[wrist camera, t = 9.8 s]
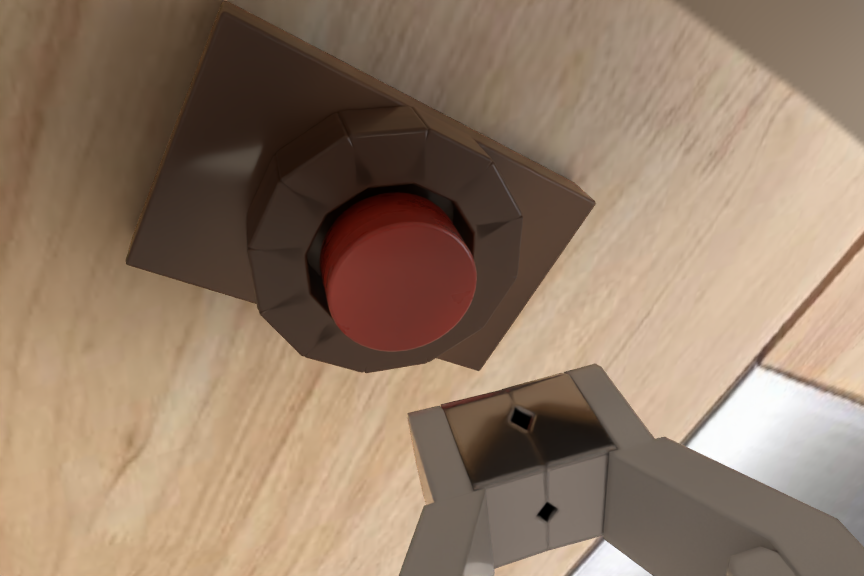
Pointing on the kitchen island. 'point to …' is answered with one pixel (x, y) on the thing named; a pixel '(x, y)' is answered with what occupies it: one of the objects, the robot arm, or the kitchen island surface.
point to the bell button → (396, 272)
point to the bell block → (336, 192)
